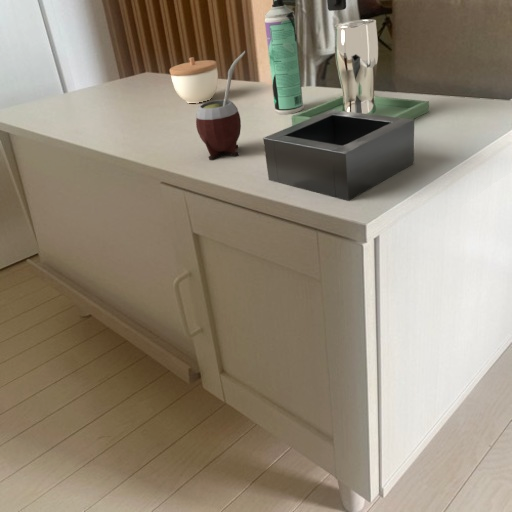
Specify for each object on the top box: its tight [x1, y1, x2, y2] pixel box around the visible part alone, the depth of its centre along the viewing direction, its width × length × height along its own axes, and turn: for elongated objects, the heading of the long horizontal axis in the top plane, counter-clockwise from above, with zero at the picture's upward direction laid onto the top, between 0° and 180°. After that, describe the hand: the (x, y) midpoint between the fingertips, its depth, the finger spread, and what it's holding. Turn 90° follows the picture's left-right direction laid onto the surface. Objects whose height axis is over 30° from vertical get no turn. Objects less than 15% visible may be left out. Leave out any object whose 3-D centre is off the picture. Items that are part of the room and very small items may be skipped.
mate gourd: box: [195, 50, 246, 161], centre depth 84 cm, size 8×8×15 cm
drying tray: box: [290, 95, 430, 126], centre depth 94 cm, size 18×16×2 cm
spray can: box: [264, 0, 304, 115], centre depth 101 cm, size 6×6×20 cm
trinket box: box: [169, 56, 219, 104], centre depth 122 cm, size 11×11×9 cm
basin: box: [262, 110, 415, 202], centre depth 72 cm, size 14×14×6 cm
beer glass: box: [334, 18, 379, 115], centre depth 90 cm, size 7×7×15 cm
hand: (357, 4), depth 85 cm, fingers open, 9 cm apart
